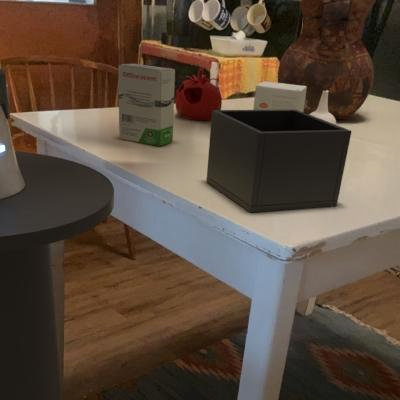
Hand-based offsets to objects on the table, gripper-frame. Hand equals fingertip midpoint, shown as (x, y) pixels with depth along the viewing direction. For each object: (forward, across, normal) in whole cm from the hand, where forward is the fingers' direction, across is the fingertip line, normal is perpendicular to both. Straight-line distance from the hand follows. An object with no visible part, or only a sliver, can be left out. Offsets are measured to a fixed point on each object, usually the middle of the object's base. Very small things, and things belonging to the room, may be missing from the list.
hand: (271, 3), depth 105 cm
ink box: (+24, -17, -14) cm, 32 cm away
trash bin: (+32, +12, -28) cm, 44 cm away
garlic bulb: (+20, +5, +16) cm, 26 cm away
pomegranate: (+17, -19, +10) cm, 28 cm away
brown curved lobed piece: (+14, -1, +36) cm, 39 cm away
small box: (+24, +3, -3) cm, 25 cm away
